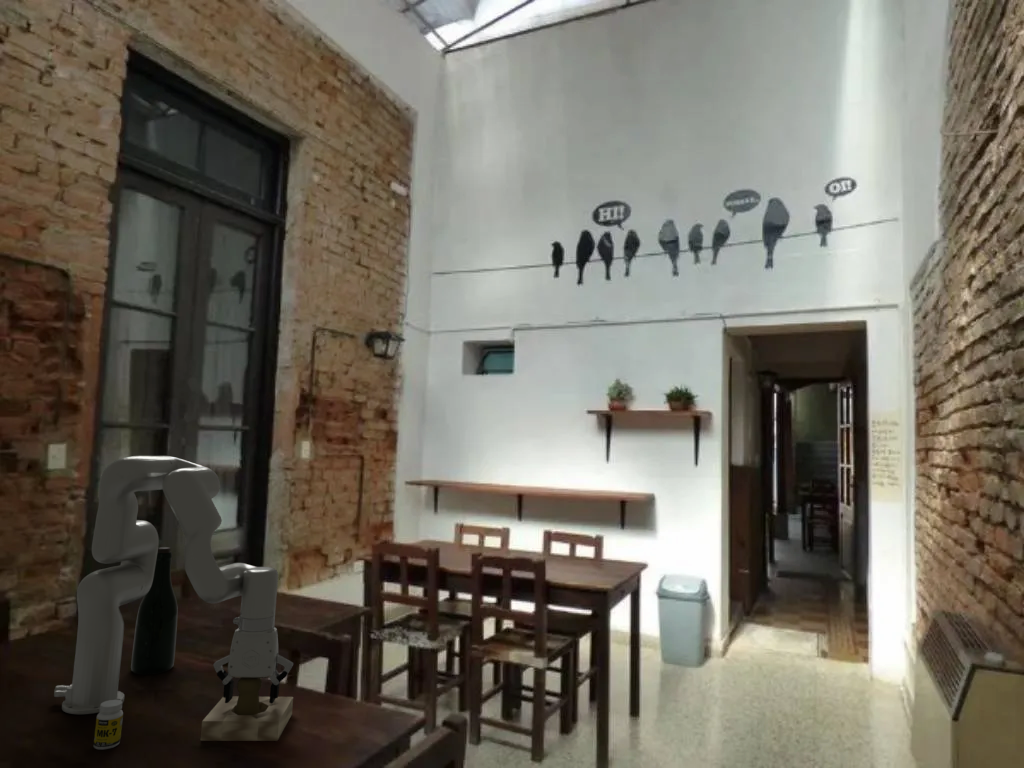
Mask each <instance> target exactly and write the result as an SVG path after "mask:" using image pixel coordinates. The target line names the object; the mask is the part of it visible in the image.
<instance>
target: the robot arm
mask: <svg viewBox="0 0 1024 768" xmlns="http://www.w3.org/2000/svg"><path fill="white" fill-rule="evenodd" d="M98 487H99V488H98V507H97V512H96V517H95V523H94V530H93V537H92V543H91V554H92V557H93V559H94V560H95V561H96V562H98V563H100V564H116V563H120V565H115V566H111V567H107V568H102V569H101V568H100V569H97V570H94V571H93V572H90V573H89V574H87V575H86V576H84V577H83V578H82V580H81V581H80V582H79V584H78V586H77V590H76V601H77V603H76V604H77V609H78V611H77V612H78V614H77V616H78V625H77V634H76V644H75V653H74V654H75V656H74V663H73V673H72V680H71V681H72V683H71V684H70V685H65V684H61V685H59V684H58V685H56V686H55V688H54V690H53V691H54V694H53V696H54V697H55V698H64V699H65V700H63V702H62V703H61V711H63V712H65V713H66V714H70V715H92V714H99V713H100V704H101V703H103V702H105V701H108V700H121V701H122V704H124V702H125V697H126V696H125V694H124V692H122V691H120V690H119V684H120V682H119V680H120V671H121V662H122V656H123V655H122V652H123V644H124V643H123V642H124V631H125V622H124V618H123V615H122V612H121V609H120V606H123V605H126V604H128V603H132V602H136V601H138V600H141V599H143V598H144V596H145V595H146V594H147V593H148V592H149V590H150V588H151V585H152V582H153V577H154V571H155V565H156V558H157V552H158V548H159V544H160V543H159V542H160V541H159V534H158V531H157V528H155V526H154V525H153V524H152V523H151V522H149V521H147V520H142V519H141V520H140V519H138V512H139V502H138V499H137V497H136V494H135V493H136V492H141V491H142V492H143V491H144V492H145V491H157V490H158V491H159V490H162V491H163V494H164V496H165V498H166V500H167V502H168V505H169V506H170V508H171V510H172V512H173V514H174V516H175V519H176V520H177V522H178V523H179V526H180V528H181V531H182V532H183V535H184V538H185V542H184V546H183V566H184V570H185V573H186V575H187V578H188V580H189V581H190V583H191V585H192V587H193V589H194V591H195V593H196V594H197V595H198V598H200V599H201V600H203V601H204V602H206V603H208V604H218V603H221V602H224V601H227V600H230V599H233V598H237V597H240V596H241V603H240V612H239V613H240V615H239V616H238V617H233V619H232V624H234V625H235V624H236V625H237V626H238V628H237V629H235V630H234V633H233V636H232V641H231V645H230V651H229V654H228V655H226V656H224V657H222V658H220V659H218V660H216V661H215V662H214V663H213V667H214V668H213V669H214V670H215V672H216V675H217V677H218V678H219V679H220V681H221V682H222V685H223V696H222V698H225V703H228V702H229V701H230V700H231V699H232V697H233V694H234V686H235V682H234V680H233V678H238V679H240V678H261V679H267V678H269V680H270V681H271V685H270V692H269V697H270V701H269V703H273V702H274V701H275V699H276V698H278V697H279V693H280V692H279V691H280V683H281V682H282V681H283V680H284V679H285V678H286V677H287V676H288V675H289V672H291V670H292V668H293V666H294V662H293V661H291V660H289V659H287V658H286V657H284V656H282V655H281V654H279V638H278V637H279V635H278V629H277V627H275V619H276V608H277V607H276V606H277V594H278V582H279V581H278V580H279V573H278V570H277V569H275V568H274V567H270V566H255V565H251V564H247V563H244V562H234V563H231V564H227V565H223V566H219V565H218V563H217V561H216V559H215V557H214V554H213V550H212V546H211V545H212V544H211V543H212V538H213V535H214V533H215V532H216V530H218V528H220V526H221V524H222V521H223V519H222V517H221V515H220V513H219V511H218V509H217V507H216V506H215V502H214V501H213V499H214V498H215V497H216V496H217V495H218V493H219V491H220V490H221V489H220V488H221V483H220V478H219V476H218V474H216V472H215V470H213V469H211V468H209V467H207V466H204V465H201V464H198V463H194V462H191V461H188V460H185V459H182V458H179V457H175V456H170V455H133V456H132V455H131V456H127V457H126V456H125V457H121V458H118V459H116V460H114V461H113V462H111V463H110V464H109V465H107V467H105V469H104V470H103V472H102V473H101V476H100V479H99V485H98ZM226 664H227V671H226V670H225V669H224V666H223V665H226ZM278 664H279V665H280V666H283V667H284V668H283V670H282V671H281V672H280V673H279V671H278V670H277V669H278Z"/></svg>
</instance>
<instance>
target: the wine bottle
mask: <svg viewBox="0 0 1024 768" xmlns="http://www.w3.org/2000/svg"><path fill="white" fill-rule="evenodd" d="M172 558H173V553H172V551H171V547H170V546H169V547H168V546H161V547H158V552H157V558H156V565H155V571H154V577H153V582H152V585H151V588H150V590H149V592H148V593H147V594H146V595H145V596H144V597H142V600H141V602H140V604H139V607H138V612H137V616H136V621H135V630H134V639H133V646H132V655H131V665H130V668H131V669H130V670H131V672H133V673H134V674H138V675H145V676H146V675H156V674H161V673H164V672H168V671H169V670H171V669H172V668H173V667H174V663H175V657H176V656H175V654H176V646H177V645H176V643H177V632H178V631H177V630H178V629H177V627H178V611H179V610H178V609H179V608H178V602H177V598H176V595H175V594H176V593H175V591H174V588H173V585H172V577H171V574H172V573H171V570H172V569H171V568H172V567H171V566H172Z"/></svg>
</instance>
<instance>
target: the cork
mask: <svg viewBox="0 0 1024 768" xmlns="http://www.w3.org/2000/svg"><path fill="white" fill-rule="evenodd" d="M238 679H239V680H238V681H237V686H236V687H237V692H238V696H239V697H238V701H237V706H236V710H235V714H237V715H255V714H258V713H260V710H259V697H260V695H259V694H260V692H259V691H260V689H261V688H262V685H263V683H262V681H263V680H262V678H238Z"/></svg>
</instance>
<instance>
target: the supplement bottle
mask: <svg viewBox="0 0 1024 768" xmlns="http://www.w3.org/2000/svg"><path fill="white" fill-rule="evenodd" d="M122 709H123V703H122V701H121V700H108V701H105V702H103V703H101V704H100V712H99V713H97V715H96V719H95V729H94V739H93V748H94V749H96V750H102V751H103V750H109V749H113V748H115V747H117V746H118V745H120V743H121V737H122V730H123V729H122V728H123V720H124V719H123V718H124V712H123V710H122Z"/></svg>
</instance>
